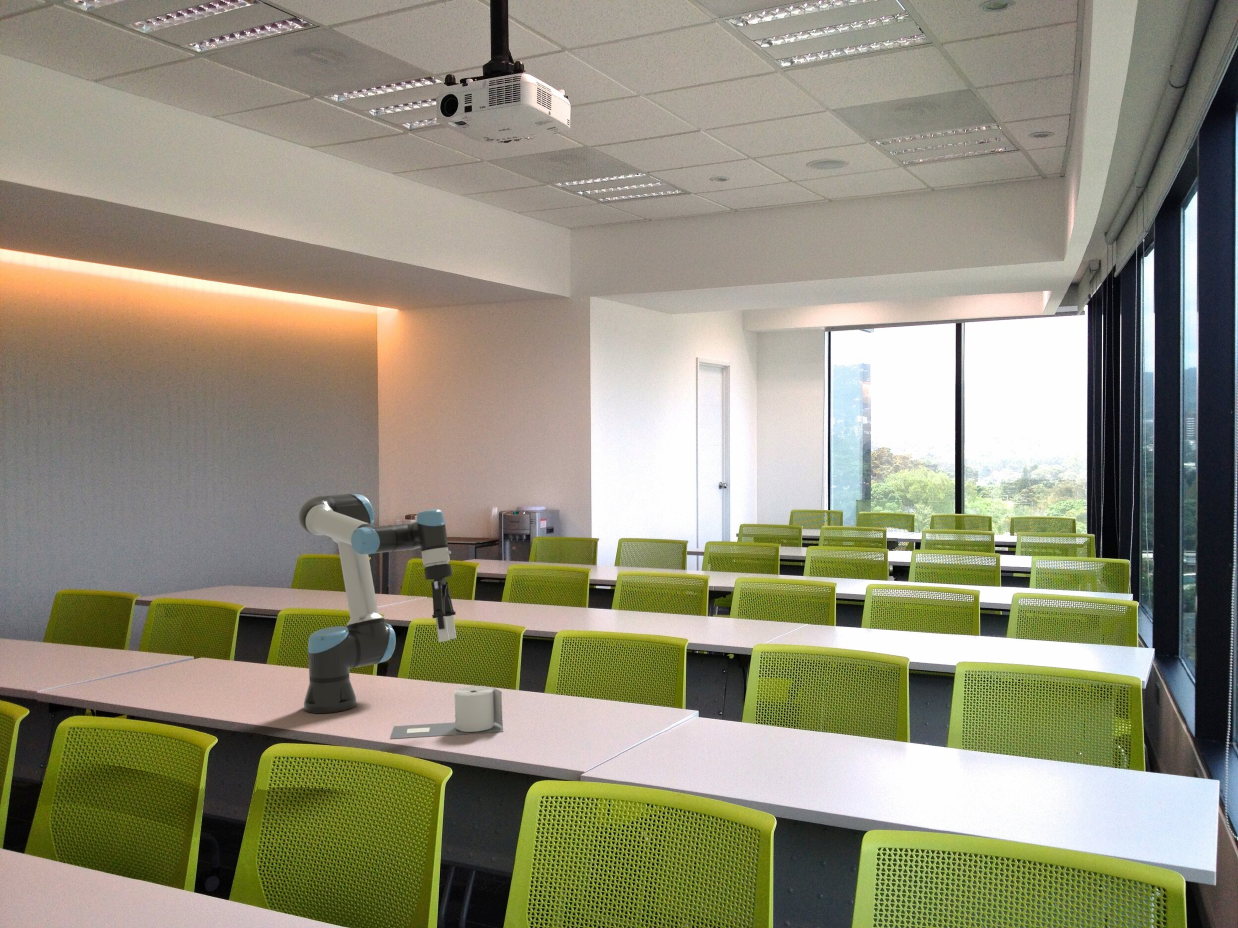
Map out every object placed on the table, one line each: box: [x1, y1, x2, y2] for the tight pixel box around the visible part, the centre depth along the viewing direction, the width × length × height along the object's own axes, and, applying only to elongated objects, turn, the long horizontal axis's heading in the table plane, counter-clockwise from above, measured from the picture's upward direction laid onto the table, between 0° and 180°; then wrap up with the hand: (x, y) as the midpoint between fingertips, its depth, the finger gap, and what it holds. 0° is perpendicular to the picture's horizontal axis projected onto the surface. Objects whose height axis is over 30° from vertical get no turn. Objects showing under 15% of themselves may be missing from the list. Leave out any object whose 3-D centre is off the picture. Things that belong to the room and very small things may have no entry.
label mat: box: [389, 719, 504, 740], centre depth 275 cm, size 30×12×1 cm, turn 98°
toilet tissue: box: [453, 685, 504, 732], centre depth 276 cm, size 11×12×10 cm
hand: (448, 640), depth 279 cm, fingers open, 13 cm apart
